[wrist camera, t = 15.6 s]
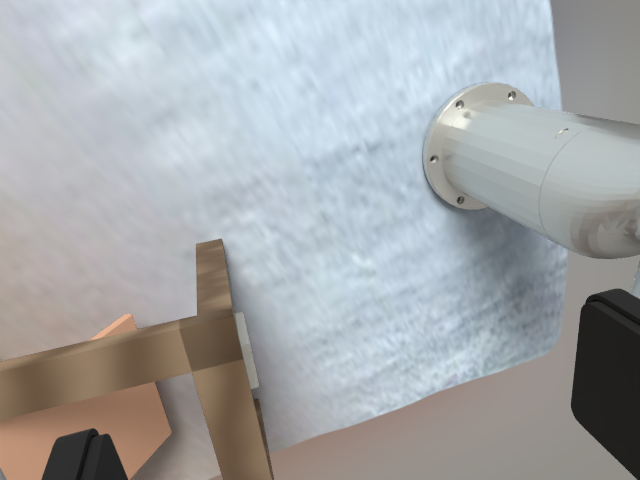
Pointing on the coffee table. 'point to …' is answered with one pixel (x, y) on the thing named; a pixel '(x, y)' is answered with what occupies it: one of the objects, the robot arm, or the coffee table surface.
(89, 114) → the coffee table surface
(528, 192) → the robot arm
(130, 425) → the trapdoor
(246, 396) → the miniature wooden side table
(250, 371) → the light gray block
